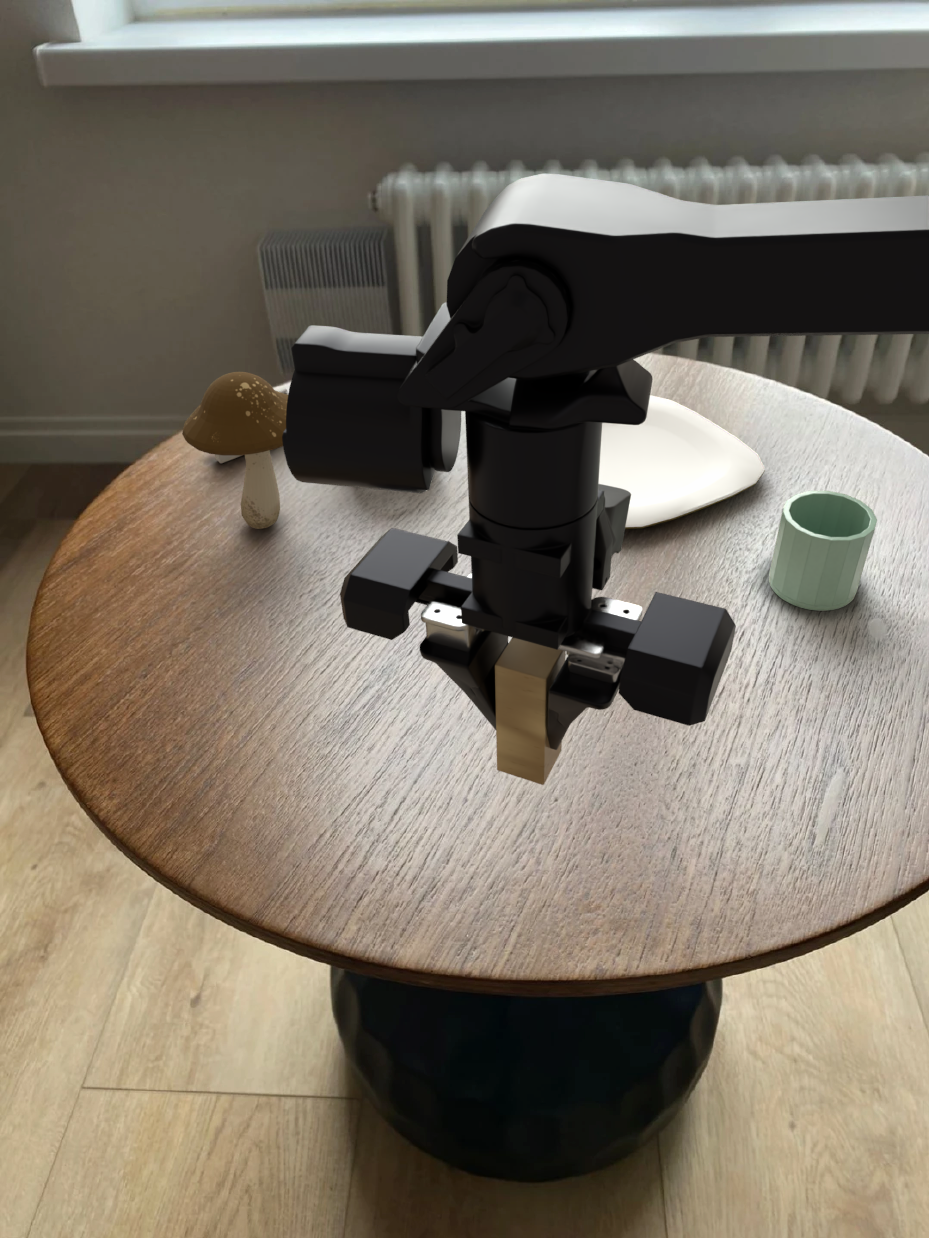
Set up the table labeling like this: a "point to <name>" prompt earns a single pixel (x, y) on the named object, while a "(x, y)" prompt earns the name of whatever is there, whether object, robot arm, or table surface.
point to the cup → (821, 549)
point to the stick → (525, 709)
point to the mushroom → (244, 437)
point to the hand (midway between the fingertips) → (530, 735)
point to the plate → (674, 463)
